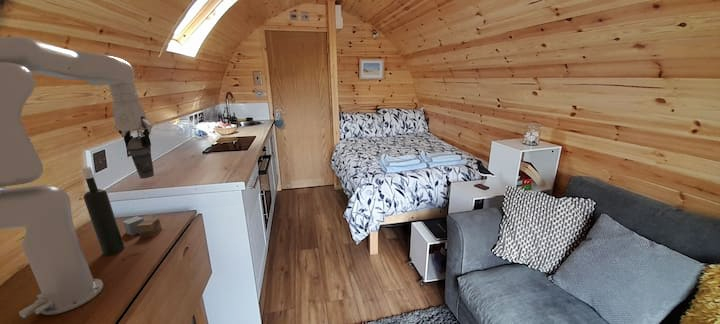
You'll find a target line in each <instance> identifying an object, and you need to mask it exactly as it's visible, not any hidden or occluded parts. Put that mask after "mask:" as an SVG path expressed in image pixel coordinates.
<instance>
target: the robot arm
mask: <svg viewBox="0 0 720 324" xmlns="http://www.w3.org/2000/svg"><path fill="white" fill-rule="evenodd" d="M33 75H37V76H43V77H49V78H54V79H59V80H66V81H84V82H85V83H87V84H90V85H92V86H99V87H100V86H108V87H109V91H110V94H111V98H112V102H113V104H112V112H113V113H112V114H113V119H114V123H115V126H114V128H115V130H117V132H118V134H119V135H121V137H122V138H123V139H124V140H123V141H124V143H125V147H126V148H127V149H128V143H129V141H130V140H131V139H133V138H134V136H133V135H132V131H137V130H138V132H139V137H140V139H141V143H142V146H143V147H148V146H151V147H152V143H151V139H150V136H151V132H152V129H153V126H154V125H153V124H152V123H150V122H149V121H148V119H147V115H146V112H145V110H144V107H143V105H142V103H141V102H140V99H139V94H138V91H137V87H136V84H135V77H136V73H135V70H134V67H133V66H132V65H131V64H130V63H129V62H127V61H125V60H124V59H122V58H119V57H115V56H111V55H108V54H99V53H93V52H87V51H82V50H81V51H80V50H73V49H68V48H65V47H64V48H63V47H60V46H57V45H54V44H50V43H47V42H43V41H40V40H36V39H32V38H30V37H25V36H3V37H1V36H0V230H5V229H14V228H15V229H16V228H25V232H24V236H23V239H22V243H21V244H22V251H23V253H24V255H25V257H26V259H27V261H28V262H27V263H28V264H29V267H30V268H31V271H32V273H33V275H34V277H35V280H36V283H37V285H38V287H39V289H40V291H41V293H39V294H37V295H36V297H37V299H36V300H35V301H33V302H34V303H31V304H30V305H28V306H27V307H25V308H23V309H22V310H20V311H19V312H18V315H19V316H20V317H21V318H23V319H25V318H27V317H29V316H30V315H32V314H34V313H35V314H36V315H39V314H41V315H44V316H46V315H47V316H53V315H58V314H62V313H66V312H68V311H71V310H73V309H76V308H78V307H80V306H82V305H84V304H87V302H89V301H91V300H92V299H94V298H95V297H96V296H97V295H99V293H100V292H101V291H102V290H103V288H104V283H103V280H101V279H99V278H94V277H93V274H92V272H91V270H90V267H89V265H88V262H87V259H86V256H85V253H84V251H83V248H82V245H81V243H80V239H79V238H78V237H79V236H78V234H77V232H76V231H77V230H76V229H75V225H74V221H73V217H72V205H71V204H72V203H71V199H70V196H69V194H68V192H66V191H65V190H64V189H62V188H60V187H58V186H54V185H31V186H20V187H12V186H19V185H24V184H29V183H32V182H35V181H37V180H39V179H40V178H41V177H42V175H43V174H44V166H43V162H42V160H41V158H40V156H39V154H38V153H37V150H36V148H35V146H34V144H33V142H32V141H31V138H30V136H29V135H28V133H27V131H26V128H25V126H24V123H23V120H22V114H23V109H24V107H25V104H26V103H27V101H28V99H29V98H30V97H31V96H32V94H33V92H34V90H35V86H36V82H35V78H34V76H33ZM10 186H11V188H6V187H10Z"/></svg>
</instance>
